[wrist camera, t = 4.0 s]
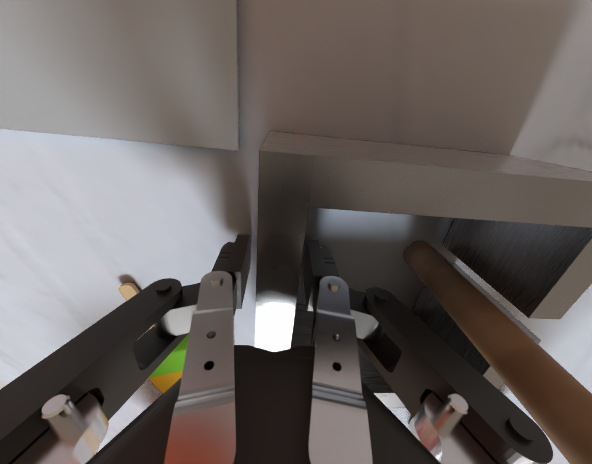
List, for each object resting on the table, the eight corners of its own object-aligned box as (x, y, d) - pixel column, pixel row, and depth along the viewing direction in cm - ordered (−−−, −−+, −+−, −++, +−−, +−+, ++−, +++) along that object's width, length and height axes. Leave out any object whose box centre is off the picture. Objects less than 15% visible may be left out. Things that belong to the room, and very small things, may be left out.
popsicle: (190, 397, 23) (183, 420, 21) (94, 284, 16) (72, 305, 14) (244, 387, 23) (241, 409, 21) (169, 267, 16) (156, 286, 14)
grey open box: (510, 155, 13) (675, 188, 7) (425, 322, 19) (481, 407, 13) (270, 131, 11) (259, 150, 6) (262, 318, 17) (253, 409, 12)
